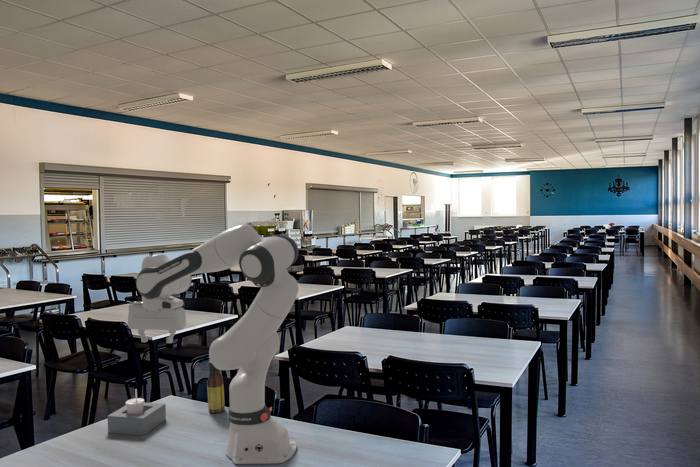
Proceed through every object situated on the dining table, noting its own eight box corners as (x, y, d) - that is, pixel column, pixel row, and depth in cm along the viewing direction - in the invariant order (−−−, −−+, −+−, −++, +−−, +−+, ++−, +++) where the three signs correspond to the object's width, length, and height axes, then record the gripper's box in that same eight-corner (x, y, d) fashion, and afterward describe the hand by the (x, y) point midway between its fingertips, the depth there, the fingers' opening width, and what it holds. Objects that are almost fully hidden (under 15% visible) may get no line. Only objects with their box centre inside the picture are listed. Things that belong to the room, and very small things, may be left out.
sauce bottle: (217, 406, 202) (216, 357, 202) (228, 409, 199) (226, 359, 198) (204, 411, 197) (202, 361, 197) (214, 415, 194) (213, 363, 193)
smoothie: (138, 431, 180) (137, 392, 179) (122, 430, 181) (121, 391, 180) (148, 424, 186) (147, 386, 186) (132, 423, 187) (131, 385, 187)
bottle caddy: (165, 419, 190) (165, 403, 190) (143, 435, 177) (143, 418, 176) (132, 417, 193) (132, 401, 193) (108, 432, 179) (107, 415, 179)
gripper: (122, 303, 172) (124, 343, 172) (178, 304, 168) (179, 345, 168) (134, 300, 178) (135, 339, 178) (187, 301, 174) (188, 341, 174)
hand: (157, 342), depth 173 cm, fingers open, 8 cm apart
